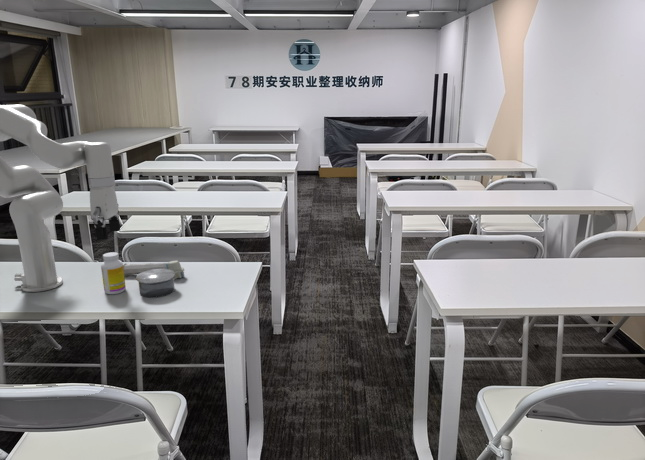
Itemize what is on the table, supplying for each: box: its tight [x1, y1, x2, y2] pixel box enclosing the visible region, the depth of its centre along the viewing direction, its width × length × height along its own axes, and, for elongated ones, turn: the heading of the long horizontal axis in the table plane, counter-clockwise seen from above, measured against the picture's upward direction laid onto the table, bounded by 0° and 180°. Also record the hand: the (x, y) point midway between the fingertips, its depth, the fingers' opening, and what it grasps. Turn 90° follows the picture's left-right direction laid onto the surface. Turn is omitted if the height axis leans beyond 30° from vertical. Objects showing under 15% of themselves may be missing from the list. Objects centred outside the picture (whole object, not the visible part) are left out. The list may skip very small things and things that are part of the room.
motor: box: [135, 269, 175, 299], centre depth 169 cm, size 12×13×6 cm
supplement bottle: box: [100, 251, 126, 295], centre depth 167 cm, size 7×7×13 cm
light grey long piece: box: [123, 260, 185, 280], centre depth 182 cm, size 5×7×25 cm
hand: (109, 235), depth 164 cm, fingers open, 9 cm apart
